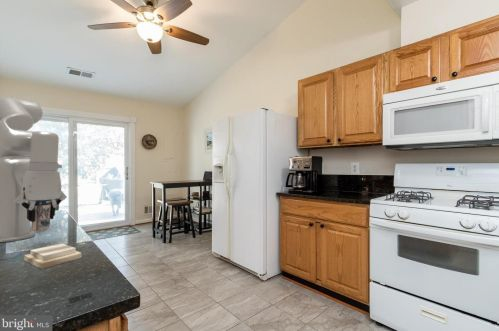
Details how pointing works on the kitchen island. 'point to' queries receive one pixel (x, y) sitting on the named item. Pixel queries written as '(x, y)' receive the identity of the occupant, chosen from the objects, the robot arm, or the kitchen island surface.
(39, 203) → the beer can
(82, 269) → the kitchen island surface
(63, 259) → the stacking base
